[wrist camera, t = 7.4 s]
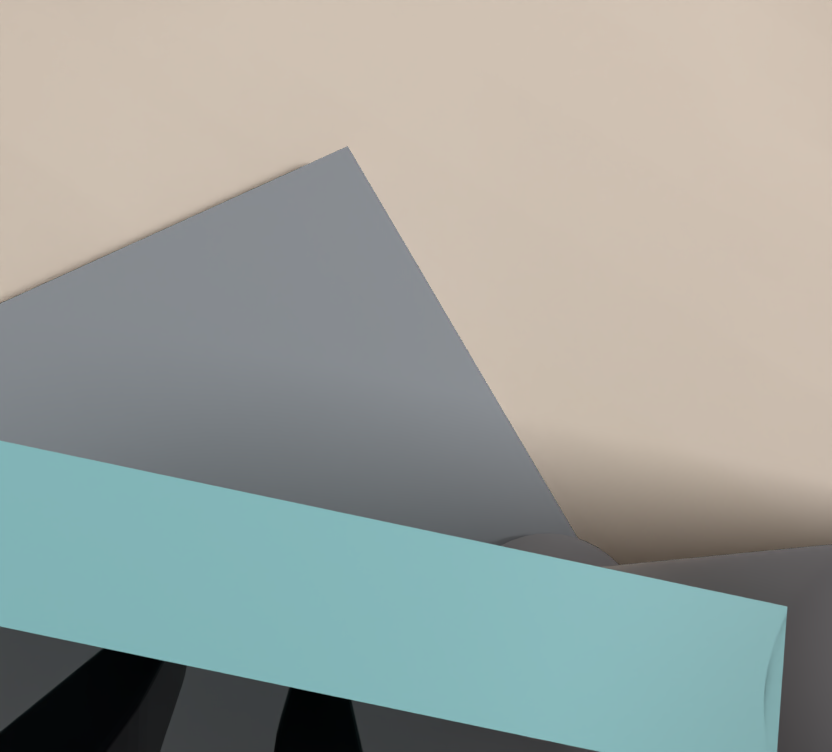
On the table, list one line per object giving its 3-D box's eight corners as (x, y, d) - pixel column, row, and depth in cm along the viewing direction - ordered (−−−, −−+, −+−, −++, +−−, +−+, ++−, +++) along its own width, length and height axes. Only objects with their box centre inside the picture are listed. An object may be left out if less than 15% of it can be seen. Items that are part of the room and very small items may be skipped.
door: (628, 530, 15) (1120, 422, 5) (605, 712, 14) (1142, 984, 4) (-115, 374, 15) (-1027, -36, 5) (-184, 546, 14) (-1439, 449, 4)
